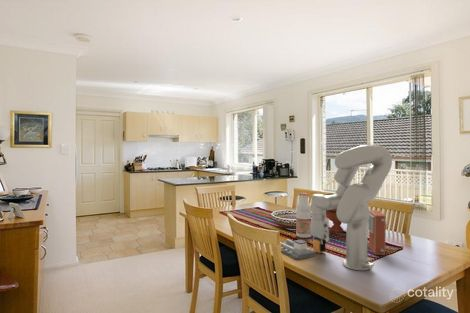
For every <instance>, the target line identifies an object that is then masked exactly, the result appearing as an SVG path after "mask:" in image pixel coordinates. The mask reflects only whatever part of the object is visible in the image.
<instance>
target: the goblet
mask: <svg viewBox="0 0 470 313" xmlns="http://www.w3.org/2000/svg"><path fill="white" fill-rule="evenodd" d="M333 194H334V193H327V194H326V196H327V195H333ZM336 211H337V208H336V209H331V210H326V217H327V218H326V219H327V220H329V221H331V222H332V226H331V227H330V228H329V230H330V231H331V232H335V233H342V232H343V231H344V228H343V227H342V222H340V221H339V219H338V218H337V214H336Z"/></svg>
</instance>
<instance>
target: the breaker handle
mask: <svg viewBox="0 0 470 313" xmlns="http://www.w3.org/2000/svg"><path fill="white" fill-rule="evenodd" d="M293 241H294V248H295V249H297V250H299V251H301V250H305V249H307V247H308V242H307V241H306V240H304V239H302V238H301V239H297V240H293Z"/></svg>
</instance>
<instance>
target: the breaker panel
mask: <svg viewBox="0 0 470 313" xmlns="http://www.w3.org/2000/svg"><path fill="white" fill-rule="evenodd" d="M294 241H295V240H292V239H289V238H287V239H286V240H285V241H284V242H281V241H280V244H281V250H282V252H281V253H283V254H285V255H287V256H289V257H290V258H293V259H295V260H301V259H306V258H310V257H314V256H317V252H316V251H313V250H312V248H310V247H308V246H307V249H305V250H301V251H299V250H297V249H295V248H294Z"/></svg>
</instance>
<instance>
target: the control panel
mask: <svg viewBox="0 0 470 313" xmlns="http://www.w3.org/2000/svg"><path fill="white" fill-rule="evenodd" d="M369 210H370V216H369V221H368V233H369V234H368V235H369V237H368V239H369V240H368V247H369V249H370V250H371V252H372V253H373V255H379V256H381V255H382V256H385V255H386V229H387V220H386V215H385V214H384V213H383V212H381V211H380V210H376V209H375V210H371V209H369Z"/></svg>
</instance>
